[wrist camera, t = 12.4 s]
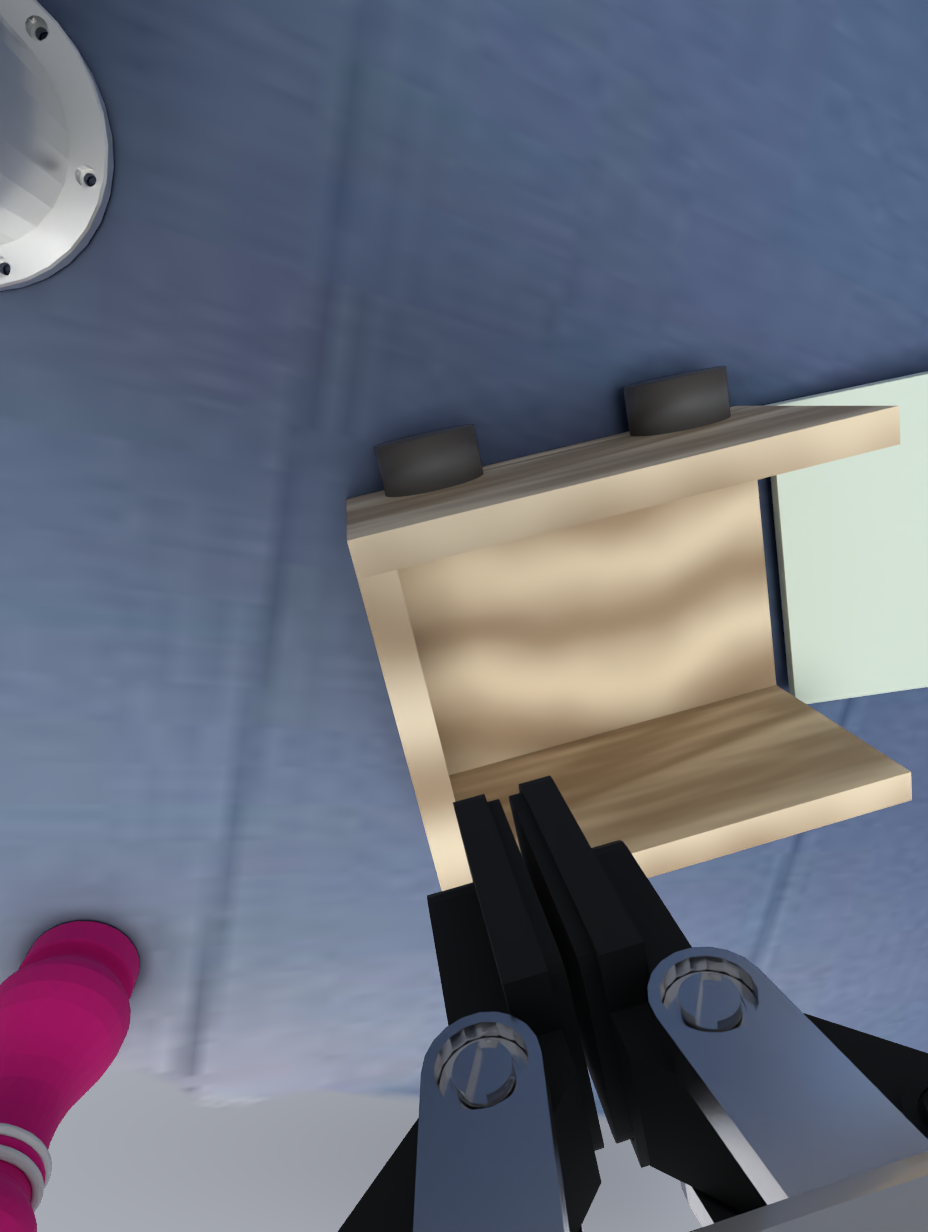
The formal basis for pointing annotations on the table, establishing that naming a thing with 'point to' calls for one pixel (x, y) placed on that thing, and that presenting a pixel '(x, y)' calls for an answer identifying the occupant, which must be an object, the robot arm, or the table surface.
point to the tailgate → (857, 556)
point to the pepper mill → (56, 1048)
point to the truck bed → (610, 627)
